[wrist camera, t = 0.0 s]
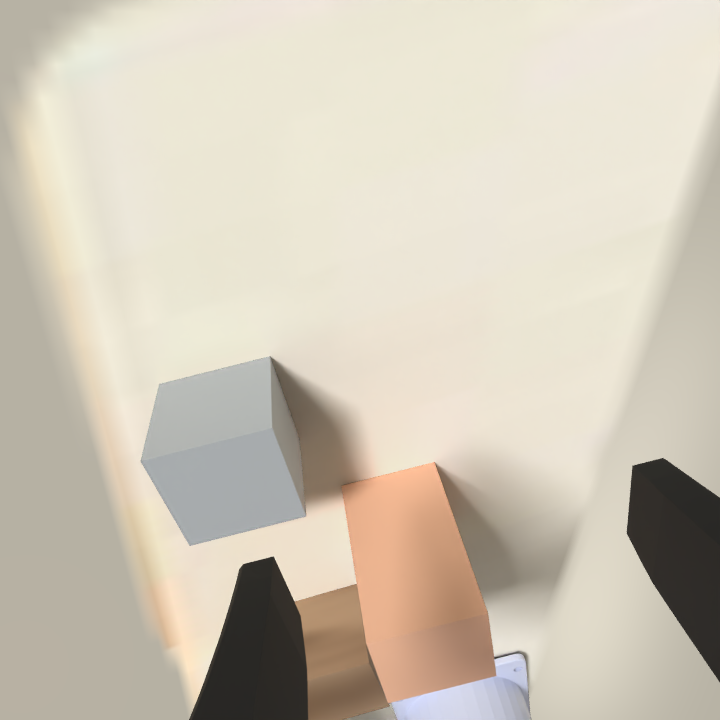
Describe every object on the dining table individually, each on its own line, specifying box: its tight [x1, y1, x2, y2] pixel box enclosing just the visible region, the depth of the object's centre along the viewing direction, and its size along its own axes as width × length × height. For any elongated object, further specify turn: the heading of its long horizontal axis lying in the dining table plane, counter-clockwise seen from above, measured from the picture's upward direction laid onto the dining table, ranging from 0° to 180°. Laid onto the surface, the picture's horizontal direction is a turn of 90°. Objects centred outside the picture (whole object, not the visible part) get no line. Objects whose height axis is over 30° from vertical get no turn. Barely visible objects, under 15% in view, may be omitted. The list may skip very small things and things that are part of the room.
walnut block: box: [295, 584, 390, 720], centre depth 28 cm, size 4×4×4 cm
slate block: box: [141, 356, 306, 546], centre depth 20 cm, size 4×4×4 cm
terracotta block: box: [342, 462, 497, 703], centre depth 23 cm, size 4×4×7 cm
